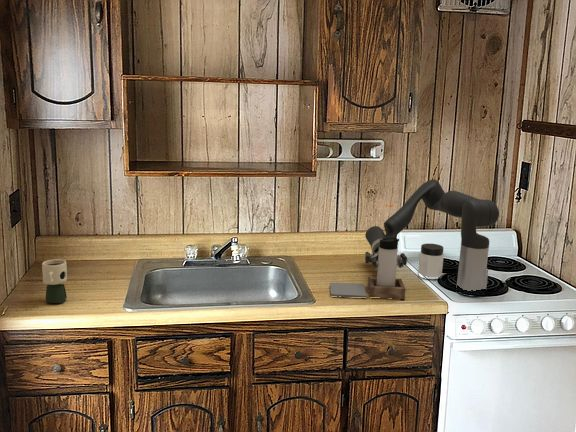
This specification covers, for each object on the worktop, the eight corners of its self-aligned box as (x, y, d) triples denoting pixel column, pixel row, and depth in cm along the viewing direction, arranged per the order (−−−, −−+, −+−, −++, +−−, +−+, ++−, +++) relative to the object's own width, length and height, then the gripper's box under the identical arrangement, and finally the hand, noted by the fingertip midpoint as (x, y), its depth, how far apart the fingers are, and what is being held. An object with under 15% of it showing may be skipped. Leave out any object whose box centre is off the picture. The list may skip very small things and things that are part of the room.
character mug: (63, 308, 185) (61, 267, 182) (39, 308, 184) (36, 267, 181) (72, 295, 195) (70, 257, 192) (49, 295, 195) (47, 257, 192)
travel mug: (390, 298, 202) (394, 241, 198) (372, 294, 206) (376, 237, 201) (398, 293, 207) (402, 237, 203) (381, 289, 211) (385, 234, 206)
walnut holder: (400, 289, 212) (401, 278, 211) (404, 300, 201) (405, 288, 200) (367, 287, 212) (368, 277, 211) (370, 298, 202) (371, 287, 201)
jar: (446, 279, 225) (449, 248, 222) (429, 281, 221) (432, 250, 218) (429, 272, 232) (432, 242, 230) (413, 274, 228) (416, 244, 226)
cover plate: (363, 287, 213) (363, 283, 212) (366, 299, 201) (366, 295, 201) (329, 285, 213) (330, 282, 213) (330, 297, 201) (330, 294, 201)
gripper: (401, 261, 220) (408, 276, 204) (362, 260, 220) (366, 274, 204) (402, 242, 218) (409, 254, 202) (363, 240, 219) (367, 253, 203)
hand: (387, 264), depth 203 cm, fingers open, 8 cm apart
